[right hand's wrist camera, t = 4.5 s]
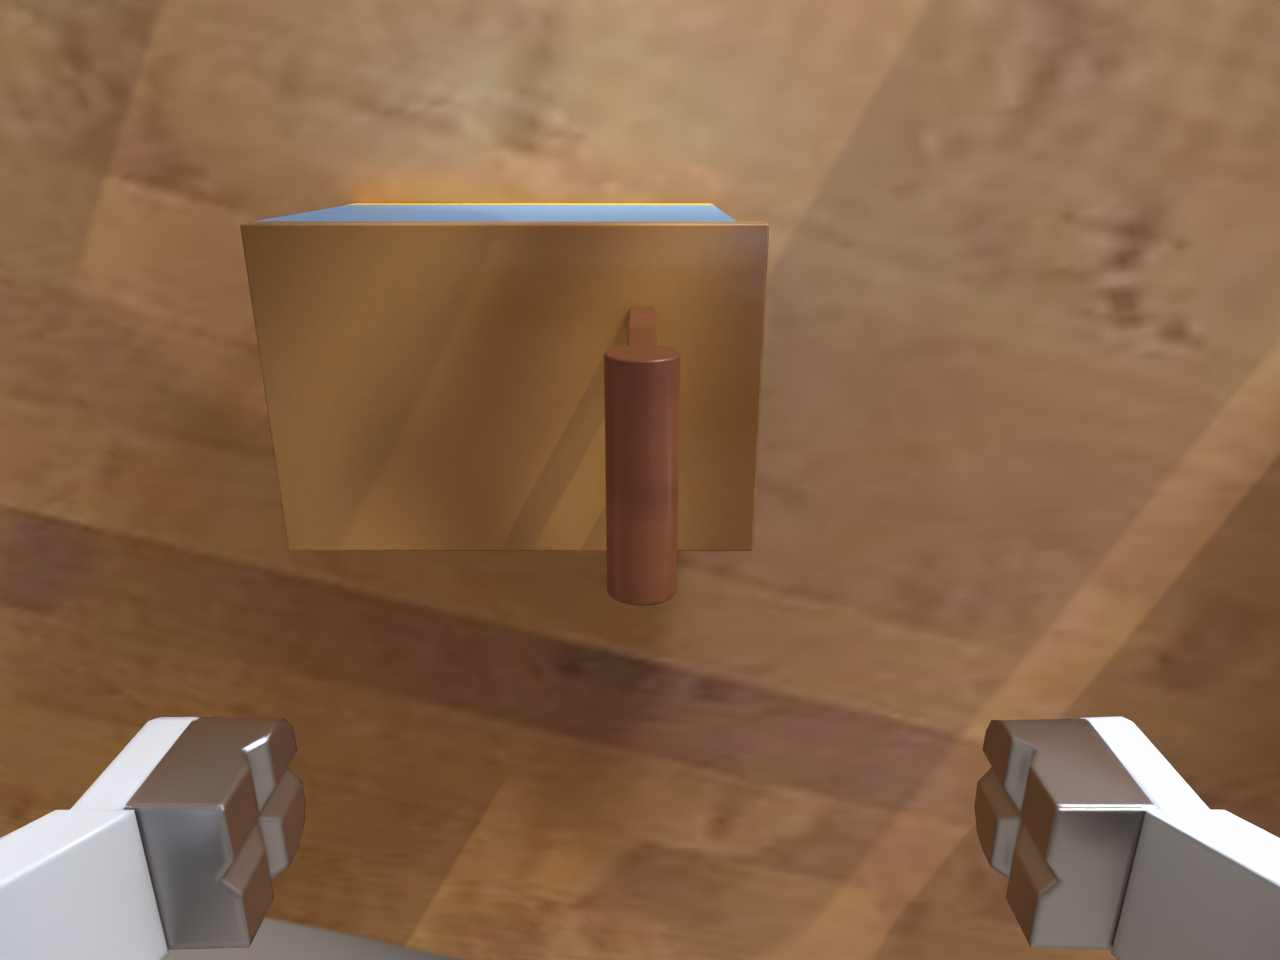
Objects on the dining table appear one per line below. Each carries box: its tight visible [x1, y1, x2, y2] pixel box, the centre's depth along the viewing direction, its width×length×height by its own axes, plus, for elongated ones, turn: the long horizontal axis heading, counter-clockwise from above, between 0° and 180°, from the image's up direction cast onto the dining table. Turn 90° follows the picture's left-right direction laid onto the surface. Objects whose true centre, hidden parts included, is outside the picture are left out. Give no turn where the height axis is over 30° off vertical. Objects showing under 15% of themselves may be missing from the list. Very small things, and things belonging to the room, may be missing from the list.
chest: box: [258, 203, 736, 222], centre depth 31 cm, size 14×10×10 cm
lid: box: [240, 221, 769, 605], centre depth 23 cm, size 14×10×8 cm
